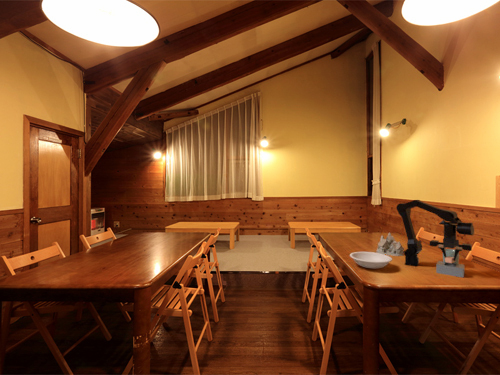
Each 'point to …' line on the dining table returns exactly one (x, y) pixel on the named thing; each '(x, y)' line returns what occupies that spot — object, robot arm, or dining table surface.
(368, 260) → the soup bowl
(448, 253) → the cup
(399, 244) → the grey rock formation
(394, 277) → the dining table surface
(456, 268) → the box
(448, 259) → the pink rectangular block
